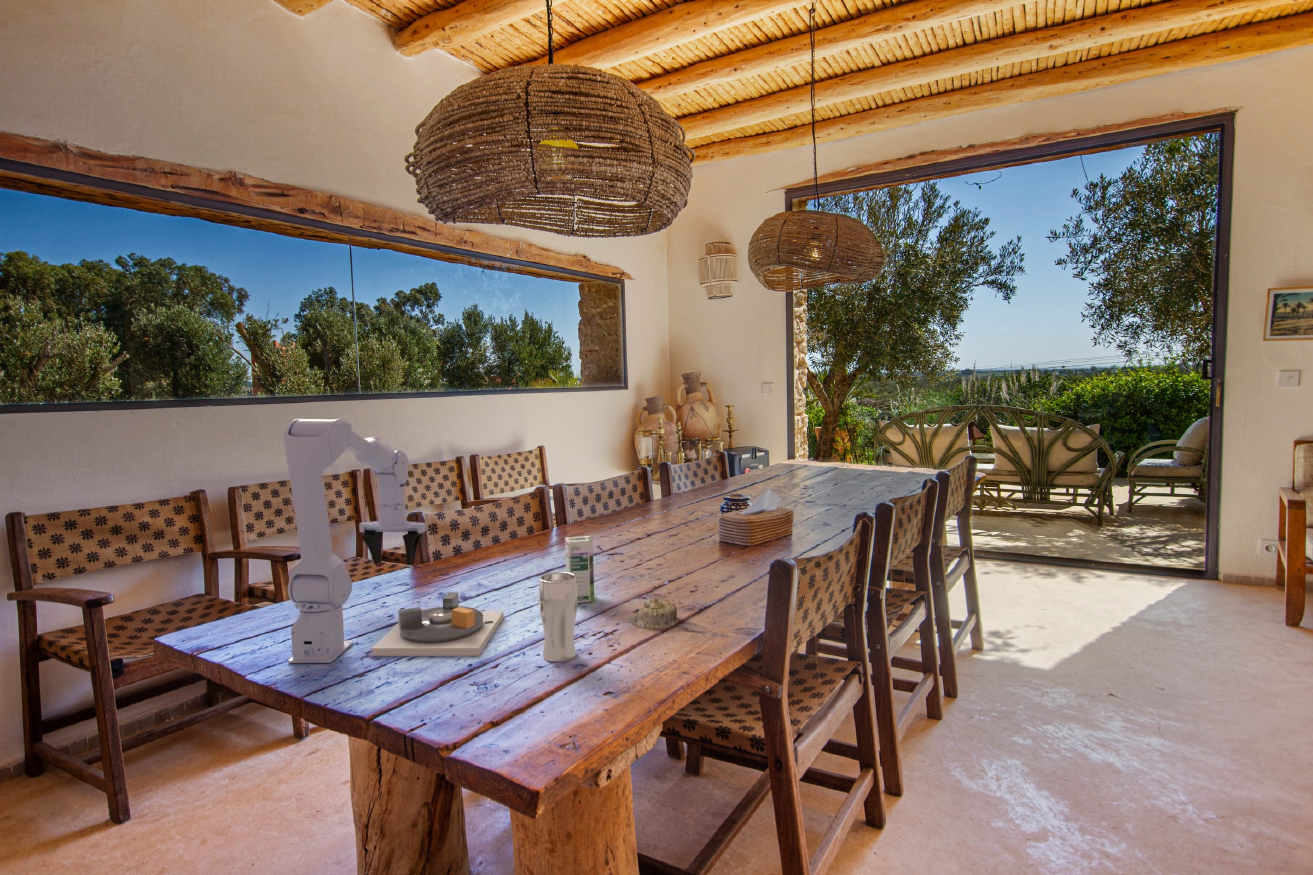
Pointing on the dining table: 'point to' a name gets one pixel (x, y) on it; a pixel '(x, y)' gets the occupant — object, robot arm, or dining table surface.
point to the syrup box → (581, 565)
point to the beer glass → (558, 615)
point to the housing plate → (461, 647)
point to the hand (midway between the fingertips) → (393, 563)
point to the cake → (656, 615)
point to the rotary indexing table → (440, 622)
